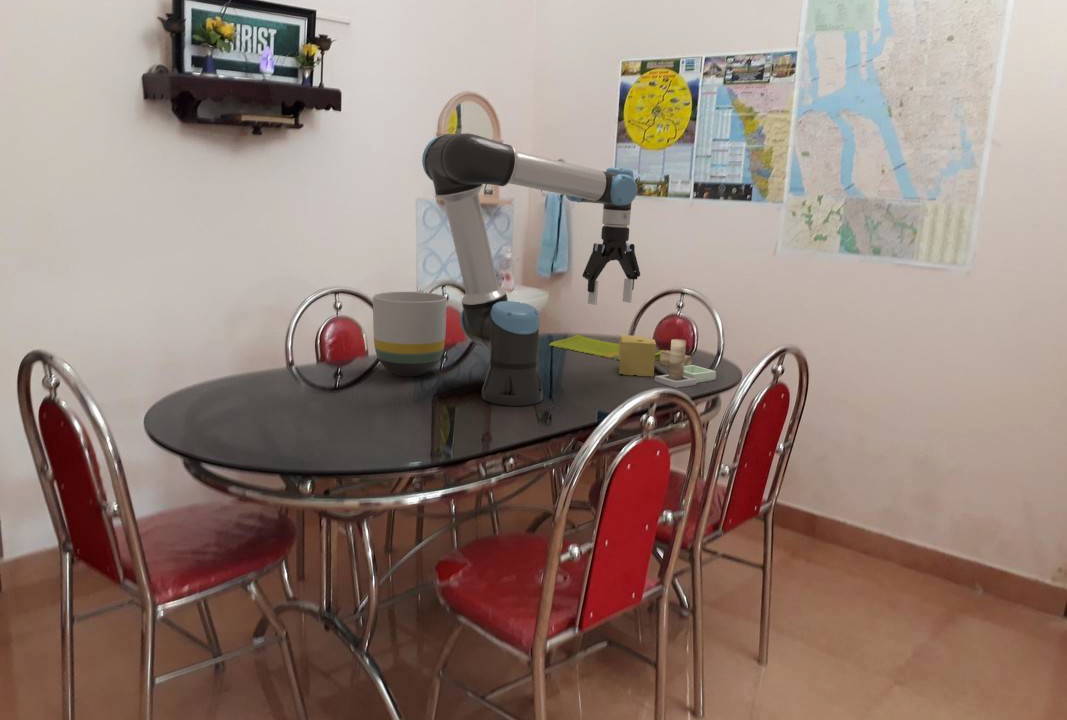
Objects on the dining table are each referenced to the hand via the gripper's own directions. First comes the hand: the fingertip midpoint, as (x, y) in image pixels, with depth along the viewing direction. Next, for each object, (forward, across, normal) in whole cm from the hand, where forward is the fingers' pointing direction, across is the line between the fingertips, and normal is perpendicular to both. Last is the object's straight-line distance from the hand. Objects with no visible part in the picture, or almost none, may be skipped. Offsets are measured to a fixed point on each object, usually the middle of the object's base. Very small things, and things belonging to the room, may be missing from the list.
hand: (609, 303), depth 232 cm
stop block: (+20, +27, -3) cm, 34 cm away
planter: (+22, -47, +28) cm, 59 cm away
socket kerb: (+20, +11, -17) cm, 29 cm away
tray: (+20, +20, -15) cm, 33 cm away
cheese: (+21, +11, -2) cm, 24 cm away
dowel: (+20, +11, -17) cm, 29 cm away
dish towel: (+21, +24, +24) cm, 40 cm away
